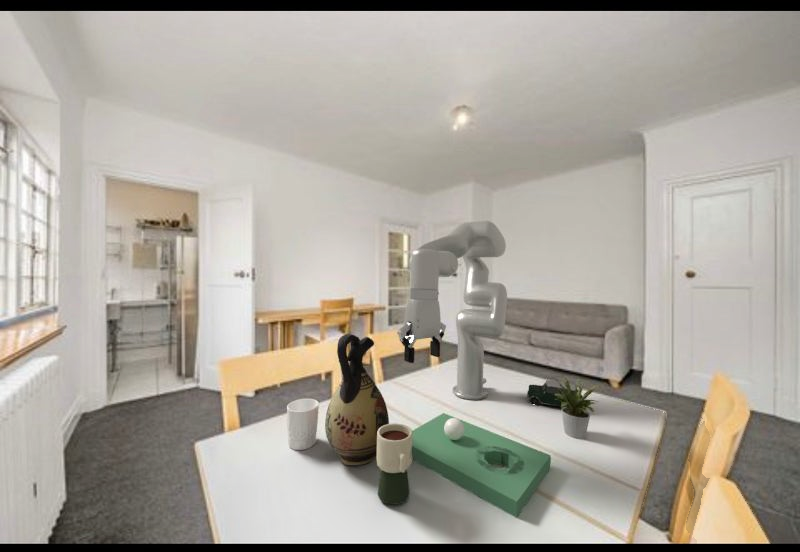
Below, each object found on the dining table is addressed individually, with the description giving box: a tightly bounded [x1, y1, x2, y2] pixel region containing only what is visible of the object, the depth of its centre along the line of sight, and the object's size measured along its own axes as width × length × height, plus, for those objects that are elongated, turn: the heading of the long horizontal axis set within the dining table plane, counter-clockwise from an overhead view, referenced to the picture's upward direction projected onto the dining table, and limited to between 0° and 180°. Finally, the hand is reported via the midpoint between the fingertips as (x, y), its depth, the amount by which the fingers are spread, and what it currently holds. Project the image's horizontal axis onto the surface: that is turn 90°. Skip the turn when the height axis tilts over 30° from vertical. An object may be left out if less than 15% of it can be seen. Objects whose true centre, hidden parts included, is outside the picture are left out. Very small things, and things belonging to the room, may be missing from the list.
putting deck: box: [412, 412, 552, 519], centre depth 73 cm, size 30×20×3 cm, turn 47°
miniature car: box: [526, 379, 583, 408], centre depth 106 cm, size 9×18×8 cm, turn 63°
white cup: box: [286, 398, 320, 451], centre depth 79 cm, size 8×8×10 cm
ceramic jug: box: [324, 333, 390, 466], centre depth 74 cm, size 17×15×30 cm
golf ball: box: [444, 417, 464, 440], centre depth 77 cm, size 5×5×5 cm
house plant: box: [547, 374, 602, 440], centre depth 87 cm, size 14×14×16 cm
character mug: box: [376, 423, 413, 505], centre depth 61 cm, size 11×7×13 cm, turn 20°
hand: (422, 358), depth 82 cm, fingers open, 9 cm apart
